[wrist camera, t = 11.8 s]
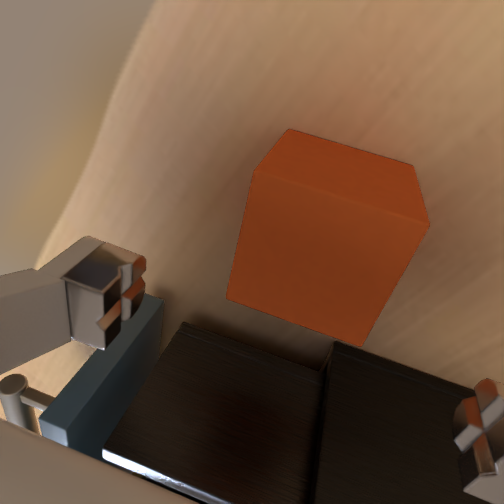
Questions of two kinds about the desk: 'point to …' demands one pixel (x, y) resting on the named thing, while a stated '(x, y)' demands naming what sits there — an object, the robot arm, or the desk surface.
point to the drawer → (186, 413)
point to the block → (326, 235)
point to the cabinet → (386, 434)
